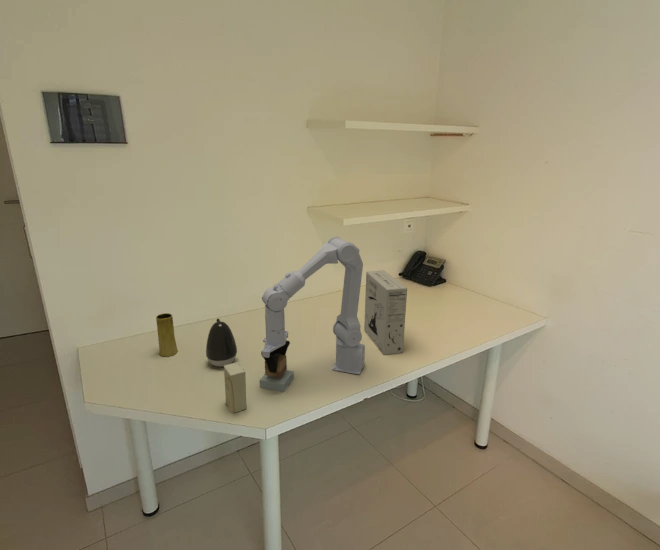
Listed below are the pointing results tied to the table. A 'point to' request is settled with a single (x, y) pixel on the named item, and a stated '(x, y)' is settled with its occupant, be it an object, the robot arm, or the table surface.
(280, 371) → the walnut cube
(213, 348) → the black egg shape
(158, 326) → the vase
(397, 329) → the product box
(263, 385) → the slate plinth
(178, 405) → the table surface
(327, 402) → the table surface
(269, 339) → the robot arm
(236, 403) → the skincare box
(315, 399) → the table surface
